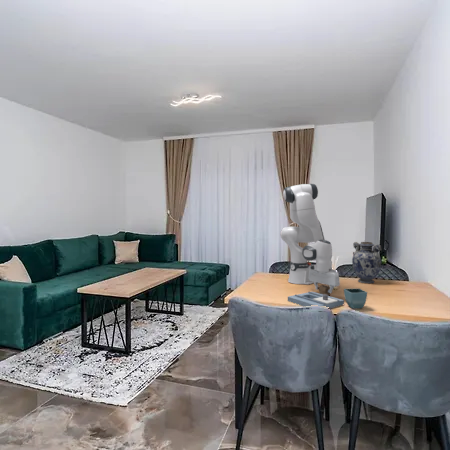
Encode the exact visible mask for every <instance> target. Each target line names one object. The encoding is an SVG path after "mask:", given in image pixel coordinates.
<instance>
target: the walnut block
mask: <svg viewBox="0 0 450 450" xmlns="http://www.w3.org/2000/svg"><path fill="white" fill-rule="evenodd" d="M318 287H319V290H318V293H319V294H327V295H328V296H330V297H331V293H328V290H329V289H330V285H326V284H322V285H318Z"/></svg>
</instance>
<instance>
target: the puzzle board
mask: <svg viewBox="0 0 450 450" xmlns="http://www.w3.org/2000/svg"><path fill="white" fill-rule="evenodd" d="M319 297H323V294H319V292H317V291H316V292H315V291H307V292H304V293H303V292H302V293H298V294H294V295H289V296H287V302H290V303H292V302H293V304H295V303H296V304H295V305H298V304H299V306H301V307H304V306H311V305H318V306H326V307H329V308H330V309H333V308H338V307H341V306H344V305H345V299H341V298H338V297H333V296H331V295H330V296H328V298H332V299H335V300H338V301H337V302H333V303H329V304H326V303H323V302H320V301H316V300H313V299H315V298H319ZM343 304H344V305H343ZM340 305H341V306H340Z"/></svg>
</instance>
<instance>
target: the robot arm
mask: <svg viewBox="0 0 450 450" xmlns="http://www.w3.org/2000/svg"><path fill="white" fill-rule="evenodd" d="M282 196H283V199H284V201H285V202H286V203H289V218H290V220H291V221H292V223H295V224H297V225H298V226H285V227H283V228H282V229H281V231H280V238H281V240H282V241H283V242H284V243H286V245H287V246H288V249H289V251H290V252H289V253H290V262H289V267H290V268H289V276H288V279H287V281H288V283H291V284H294V285H295V284H296V285H311V284H314V287H315V290H316V291H319V284H322V285H326V286H330V289H329V290H328V293H330V294H332V293H333V290H334V288H335V287H339V286H341V285H340V283H341V281H340V273H339V271H338V270H337V269H333V261H332V257H333V247H332V242H330V241H329V240H327V239H326V238H325V236H324V232H323V229H322V224H321V222H320V220H319V219H318V216H317V213H316V206H315V202H314V200H316V199H317V197H318V196H319V189H318V186H317V185H316V184H314V183H308V184H307V183H302V184H296V185H292V186H287V187H284V189H283V193H282ZM299 243H306V244H307V243H310V244H307V245H305V246H303V247H301V246H300V245H299ZM308 261H309V262H308ZM311 261H316V262H315V264H312V263H311Z"/></svg>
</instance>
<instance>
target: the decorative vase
mask: <svg viewBox="0 0 450 450" xmlns="http://www.w3.org/2000/svg"><path fill="white" fill-rule="evenodd" d="M352 246H353V248H354V249H355V251H354V253H353V255H352V259H351V263H352V268H353V271H354V273H355V274H356V276H357V277H358V278H359V279H358V280H357V282H358V283H360V284H369V285H370V284H374V283H375V281H374V280H373V279H375V278H376V277H377V276H378V274H380V271H381V268H382V258H381V255H380V252H381V251H382V245H381V244H376V245H375V244H374V243H373V242H370V241H361V242H360V243H359V242H358V241H354V242H353V245H352Z"/></svg>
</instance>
